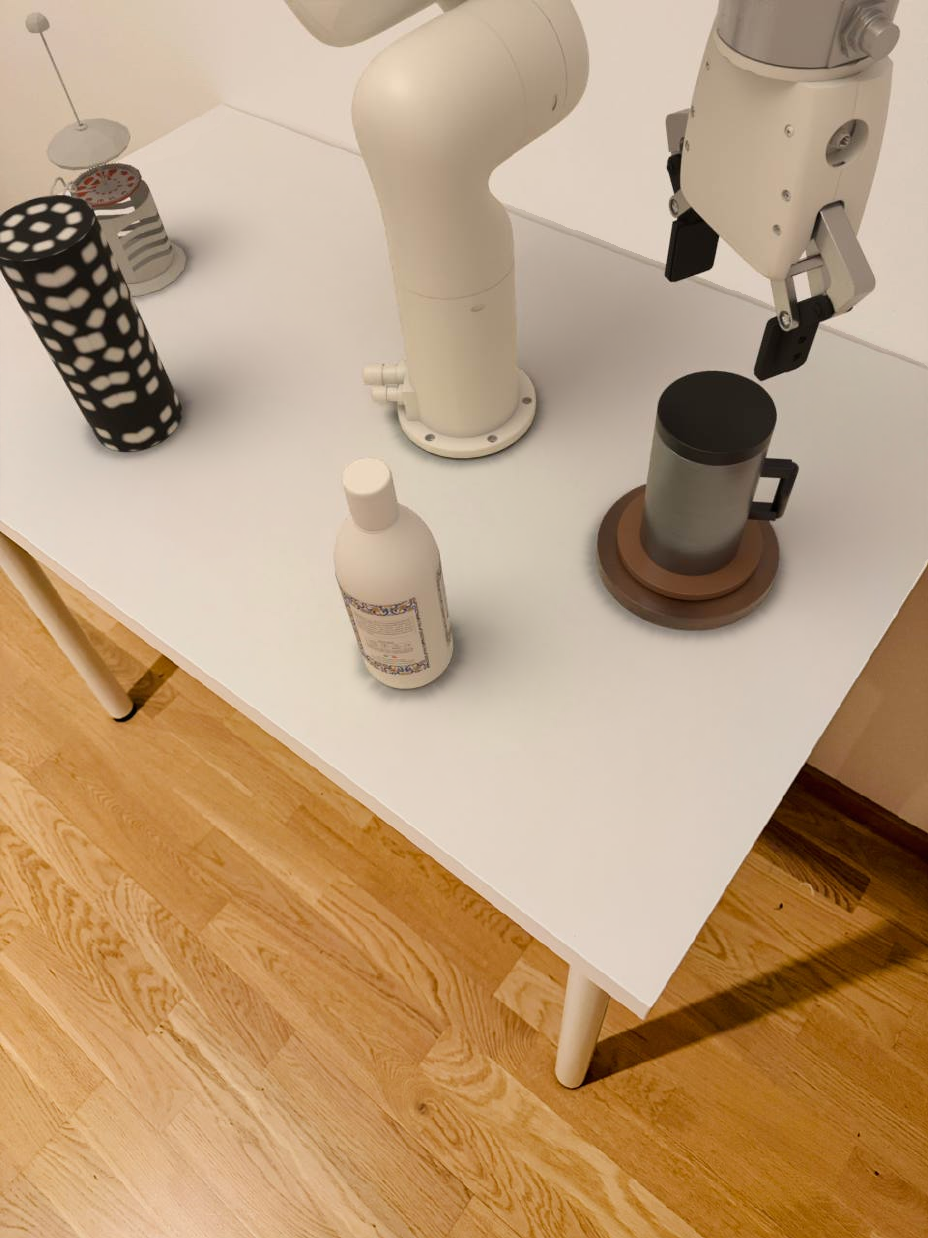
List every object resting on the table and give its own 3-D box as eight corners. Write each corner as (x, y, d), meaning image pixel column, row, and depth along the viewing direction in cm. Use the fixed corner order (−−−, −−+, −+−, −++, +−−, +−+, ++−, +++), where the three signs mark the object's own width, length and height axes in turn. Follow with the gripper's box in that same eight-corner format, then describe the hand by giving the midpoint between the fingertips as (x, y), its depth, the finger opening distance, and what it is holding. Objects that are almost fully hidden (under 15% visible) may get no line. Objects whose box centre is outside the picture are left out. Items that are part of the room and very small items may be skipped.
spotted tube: (199, 401, 86) (116, 206, 69) (148, 461, 82) (47, 270, 65) (129, 379, 88) (33, 186, 72) (76, 438, 84) (-39, 247, 68)
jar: (620, 484, 74) (635, 349, 62) (769, 494, 73) (812, 356, 61) (612, 594, 68) (626, 468, 57) (773, 607, 67) (823, 479, 55)
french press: (204, 254, 99) (113, -2, 78) (131, 317, 94) (12, 61, 73) (140, 230, 102) (36, -22, 81) (65, 289, 97) (-66, 37, 76)
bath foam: (405, 598, 72) (364, 414, 55) (472, 644, 69) (450, 464, 52) (345, 658, 69) (282, 484, 52) (412, 708, 66) (368, 541, 50)
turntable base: (594, 626, 69) (595, 615, 68) (597, 487, 77) (598, 475, 75) (783, 634, 67) (788, 623, 66) (768, 491, 75) (771, 479, 74)
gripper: (1016, 69, 36) (875, 391, 50) (766, -89, 45) (707, 223, 59) (857, 121, 35) (759, 436, 49) (632, -52, 43) (606, 258, 58)
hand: (731, 319), depth 54 cm, fingers open, 9 cm apart
